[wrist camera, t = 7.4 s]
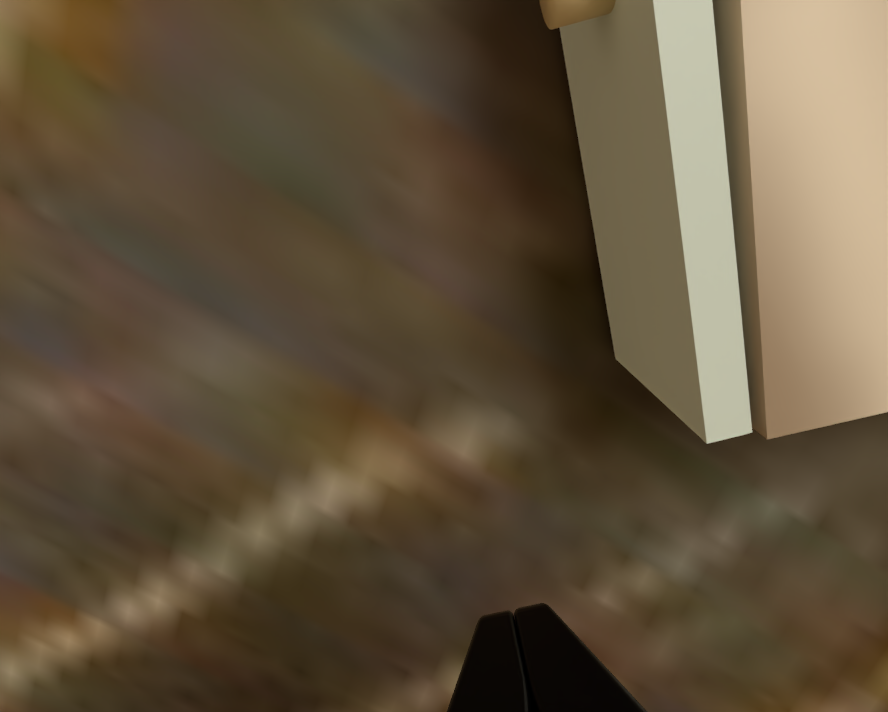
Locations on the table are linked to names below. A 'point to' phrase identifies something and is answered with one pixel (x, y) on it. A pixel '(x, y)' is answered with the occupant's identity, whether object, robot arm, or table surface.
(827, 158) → the cabinet
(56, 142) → the table surface
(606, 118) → the cabinet door
